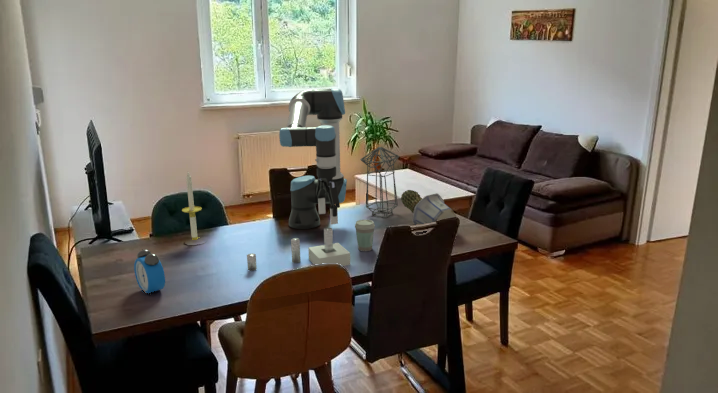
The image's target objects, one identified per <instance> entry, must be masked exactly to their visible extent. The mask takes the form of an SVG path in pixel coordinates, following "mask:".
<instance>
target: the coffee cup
mask: <svg viewBox="0 0 718 393" xmlns="http://www.w3.org/2000/svg"><path fill="white" fill-rule="evenodd" d="M354 228H355V234H356V241H357V248H358V250H359V251H361V252H369V251H371V250H372V249H373V243H374V233H375V228H376V225H375V222H374V221H373V220H371V219H360V220H357V221H355V224H354Z"/></svg>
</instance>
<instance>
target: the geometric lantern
mask: <svg viewBox="0 0 718 393" xmlns="http://www.w3.org/2000/svg"><path fill="white" fill-rule="evenodd" d="M379 153H380V154H379ZM390 154H391V155H390ZM377 157H379V158H380V159H381V160H382V161H376V159H377ZM393 157H394V158H393ZM400 157H401V156H400V155H398V154H397V153H395V152H392V151H391V150H388V149H386V148H385V147H383V146H377V147H376V148H375V149H373V150H372V151H371V152H369V153H368V154H366V155H364V156H363V157H361V158H360V161H361V162H362V163H363V164H364V165H366V172H367V173H366V195H365V196H366V198H365V208H366V209H368V210H369V211H370V212H371V215H372V216H374V217H379V218H384V219H386V218H389V217H390V216H392V215H394V213H393V212H394V211H393V210H394V209H395V208H397V207H398V195H397V185H396V178H395V163H396V162H397V161H398V159H399V158H400ZM384 158H385V159H384ZM373 160H374V161H373ZM392 162H393V163H392ZM376 163H378V164H376ZM375 164H376V165H375ZM381 164H382V165H381ZM385 164H387V166H388V168H387V170H384V169H383V167H384V166H385ZM380 165H381V167H380V168H379V169H378V168H377V167H378V166H380ZM372 168H374V169H375V170H373V171H370V170H371V169H372ZM390 169H391V170H390ZM381 172H384V175H382V174H381ZM387 172H389V174H387ZM371 173H375V174H371ZM378 174H379V196H380V197H379V198H380V200H379V201H377V200H378V199H377V198H378V196H377V192H378V190H377V189H378V188H377V187H378ZM386 174H387V175H386ZM369 175H370V176H372V177H375V201H374V202H373V203H370V204H369ZM390 175H392V178H393V190H394V191H393V192H394V202H389V200H388V190H387V179H386V177H388V176H390ZM383 178H384V189H385V197H386V201H384V196H383V194H384V192H383ZM378 203H380V204H379V205H378ZM375 204H376V206H377V208H374V207H370V206H373V205H375ZM384 204H386V207H384ZM389 204H391V205H393V206H391V207H389ZM375 214H383V216H382V215H375ZM388 214H389V215H388Z"/></svg>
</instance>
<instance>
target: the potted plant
mask: <svg viewBox="0 0 718 393" xmlns="http://www.w3.org/2000/svg"><path fill="white" fill-rule="evenodd" d="M400 200H401V203H402V204H403V207H406V208H407V209H408V210H410V212H411V213H412V223H413V224H414V226H416V224H424V223H431V222H435V221H437V220H440V219H445V218H450V217H456V218H457V215H456V213H455V212H454V210H453V209H452V208H451V207H449V206H448V205H447V204H445V200H444V198H442V196H441V195H440V194H439V193H432V194H428V195H425V196H424V197H421V195H420V194H419V192H418V191H415V190H411V189H407V190H404V191H403V192H402V194H401V197H400Z"/></svg>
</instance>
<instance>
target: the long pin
mask: <svg viewBox="0 0 718 393" xmlns="http://www.w3.org/2000/svg"><path fill="white" fill-rule="evenodd" d="M333 231H334V230H333V228H332V227H325V228H323V243H324V244H323V245H324V247H325V253H330V252H333V243H334V239H333V238H334V237H333V234H334V233H333Z"/></svg>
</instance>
